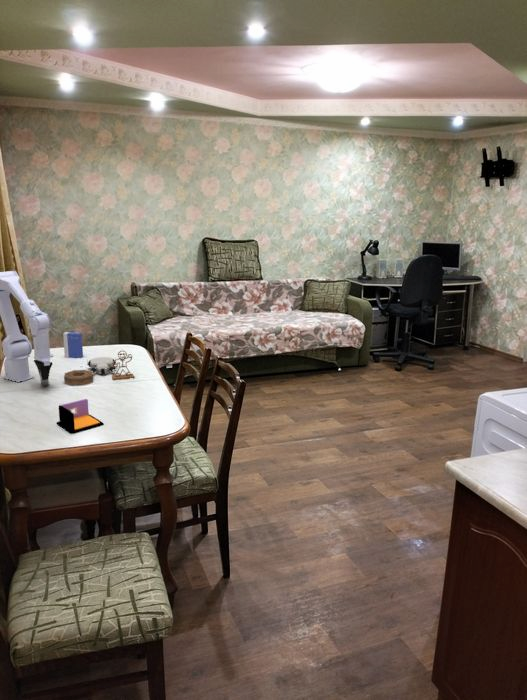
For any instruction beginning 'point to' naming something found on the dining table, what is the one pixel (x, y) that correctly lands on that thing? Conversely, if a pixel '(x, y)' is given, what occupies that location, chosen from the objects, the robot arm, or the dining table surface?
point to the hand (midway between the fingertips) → (44, 378)
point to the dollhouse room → (77, 417)
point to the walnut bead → (78, 377)
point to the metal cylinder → (44, 382)
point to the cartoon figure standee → (126, 375)
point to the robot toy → (101, 365)
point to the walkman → (73, 345)
